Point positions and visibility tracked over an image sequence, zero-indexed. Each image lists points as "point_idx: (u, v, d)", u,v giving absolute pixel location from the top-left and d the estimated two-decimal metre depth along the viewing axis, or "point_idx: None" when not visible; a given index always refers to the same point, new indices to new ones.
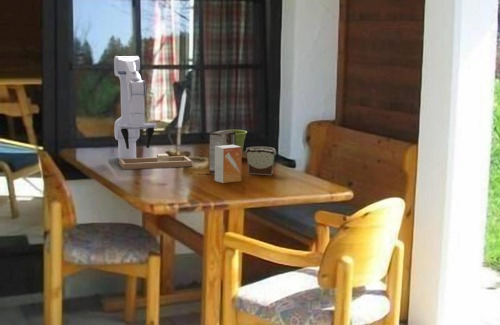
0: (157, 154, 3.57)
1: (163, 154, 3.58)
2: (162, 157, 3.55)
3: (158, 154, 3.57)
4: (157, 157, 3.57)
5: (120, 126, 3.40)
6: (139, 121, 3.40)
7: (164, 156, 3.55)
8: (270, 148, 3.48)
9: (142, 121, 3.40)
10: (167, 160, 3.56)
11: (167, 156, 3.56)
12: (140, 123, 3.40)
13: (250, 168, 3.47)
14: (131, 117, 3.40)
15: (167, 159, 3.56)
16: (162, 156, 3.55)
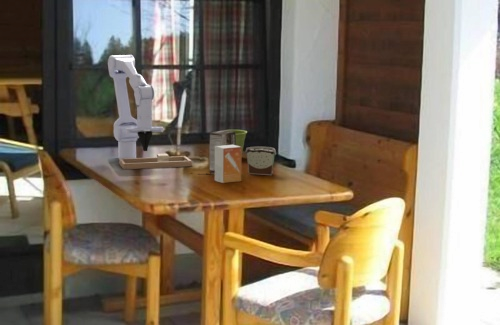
0: (157, 154, 3.57)
1: (163, 154, 3.58)
2: (162, 157, 3.55)
3: (158, 154, 3.57)
4: (157, 157, 3.57)
5: (128, 129, 3.51)
6: (147, 124, 3.51)
7: (164, 156, 3.55)
8: (270, 148, 3.48)
9: (149, 124, 3.51)
10: (167, 160, 3.56)
11: (167, 156, 3.56)
12: (148, 126, 3.51)
13: (250, 168, 3.47)
14: (139, 121, 3.51)
15: (167, 159, 3.56)
16: (162, 156, 3.55)
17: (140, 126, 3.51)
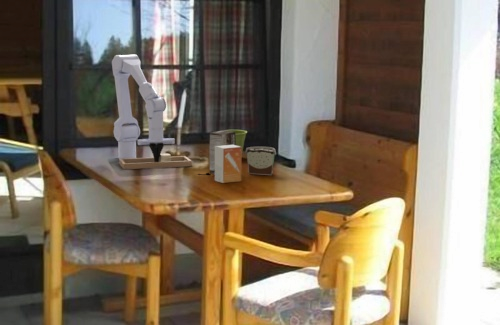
0: None
1: (165, 154, 3.58)
2: (165, 156, 3.55)
3: (160, 154, 3.58)
4: (159, 157, 3.58)
5: (140, 141, 3.53)
6: (158, 136, 3.53)
7: (166, 156, 3.56)
8: (270, 148, 3.48)
9: (161, 136, 3.53)
10: (169, 160, 3.56)
11: (169, 156, 3.56)
12: (159, 138, 3.53)
13: (250, 168, 3.47)
14: (150, 132, 3.53)
15: (169, 159, 3.56)
16: (164, 156, 3.55)
17: (151, 138, 3.53)
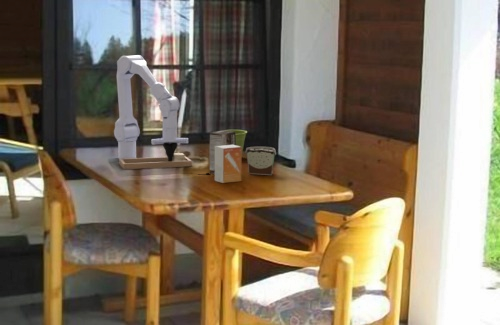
0: None
1: (179, 153, 3.59)
2: (178, 156, 3.57)
3: (174, 153, 3.59)
4: (173, 156, 3.59)
5: (154, 141, 3.54)
6: (172, 136, 3.54)
7: (180, 155, 3.57)
8: (270, 148, 3.48)
9: (175, 136, 3.55)
10: (183, 159, 3.58)
11: (183, 155, 3.57)
12: (173, 138, 3.54)
13: (250, 168, 3.47)
14: (164, 132, 3.54)
15: (183, 158, 3.58)
16: (178, 155, 3.57)
17: (165, 137, 3.54)
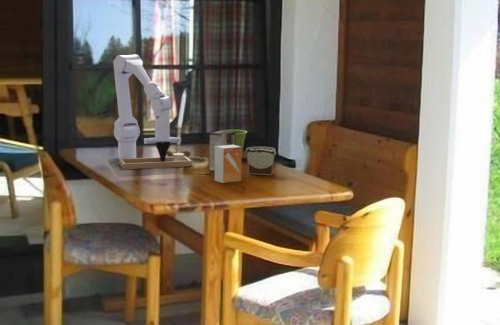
0: (173, 153, 3.59)
1: (179, 153, 3.59)
2: (178, 156, 3.57)
3: (174, 153, 3.59)
4: (173, 156, 3.59)
5: (146, 140, 3.53)
6: (164, 135, 3.53)
7: (180, 155, 3.57)
8: (270, 148, 3.48)
9: (167, 135, 3.54)
10: (183, 159, 3.58)
11: (183, 155, 3.57)
12: (165, 137, 3.54)
13: (250, 168, 3.47)
14: (157, 131, 3.53)
15: (183, 158, 3.58)
16: (178, 155, 3.57)
17: (158, 137, 3.53)
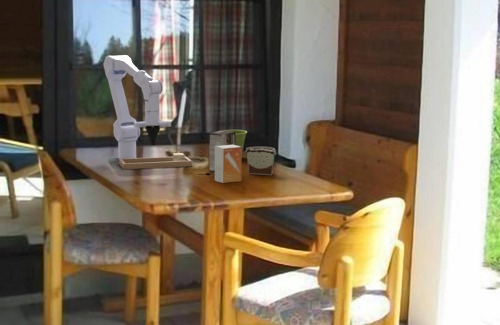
0: (173, 153, 3.59)
1: (179, 153, 3.59)
2: (178, 156, 3.57)
3: (174, 153, 3.59)
4: (173, 156, 3.59)
5: (136, 124, 3.53)
6: (154, 119, 3.53)
7: (180, 155, 3.57)
8: (270, 148, 3.48)
9: (157, 119, 3.54)
10: (183, 159, 3.58)
11: (183, 155, 3.57)
12: (155, 121, 3.53)
13: (250, 168, 3.47)
14: (147, 115, 3.53)
15: (183, 158, 3.58)
16: (178, 155, 3.57)
17: (148, 120, 3.53)
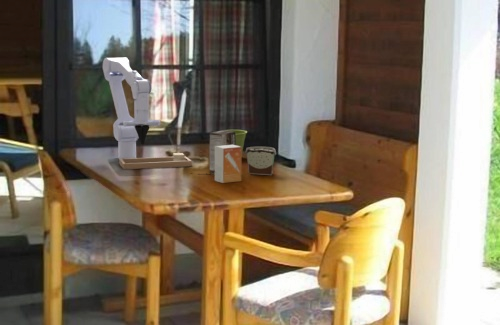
0: (173, 153, 3.59)
1: (179, 153, 3.59)
2: (178, 156, 3.57)
3: (174, 153, 3.59)
4: (173, 156, 3.59)
5: (125, 123, 3.54)
6: (144, 118, 3.54)
7: (180, 155, 3.57)
8: (270, 148, 3.48)
9: (146, 118, 3.55)
10: (183, 159, 3.58)
11: (183, 155, 3.57)
12: (144, 120, 3.54)
13: (250, 168, 3.47)
14: (136, 114, 3.54)
15: (183, 158, 3.58)
16: (178, 155, 3.57)
17: (137, 120, 3.54)
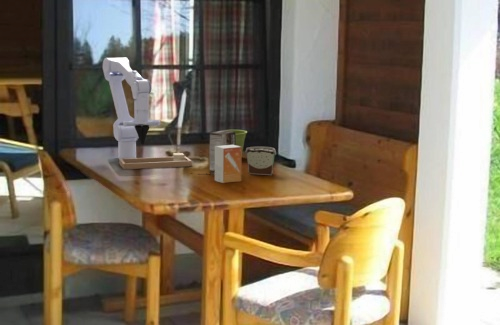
0: (173, 153, 3.59)
1: (179, 153, 3.59)
2: (178, 156, 3.57)
3: (174, 153, 3.59)
4: (173, 156, 3.59)
5: (125, 123, 3.54)
6: (144, 118, 3.54)
7: (180, 155, 3.57)
8: (270, 148, 3.48)
9: (146, 118, 3.55)
10: (183, 159, 3.58)
11: (183, 155, 3.57)
12: (144, 120, 3.54)
13: (250, 168, 3.47)
14: (136, 114, 3.54)
15: (183, 158, 3.58)
16: (178, 155, 3.57)
17: (137, 120, 3.54)
